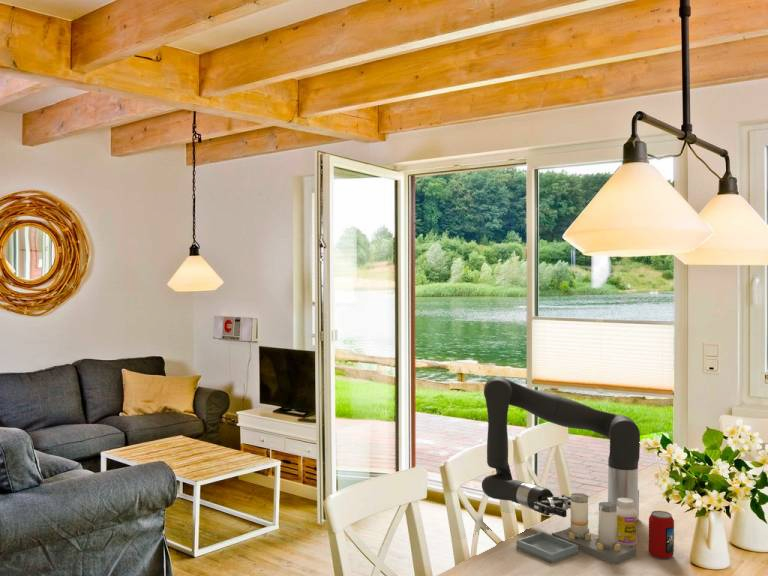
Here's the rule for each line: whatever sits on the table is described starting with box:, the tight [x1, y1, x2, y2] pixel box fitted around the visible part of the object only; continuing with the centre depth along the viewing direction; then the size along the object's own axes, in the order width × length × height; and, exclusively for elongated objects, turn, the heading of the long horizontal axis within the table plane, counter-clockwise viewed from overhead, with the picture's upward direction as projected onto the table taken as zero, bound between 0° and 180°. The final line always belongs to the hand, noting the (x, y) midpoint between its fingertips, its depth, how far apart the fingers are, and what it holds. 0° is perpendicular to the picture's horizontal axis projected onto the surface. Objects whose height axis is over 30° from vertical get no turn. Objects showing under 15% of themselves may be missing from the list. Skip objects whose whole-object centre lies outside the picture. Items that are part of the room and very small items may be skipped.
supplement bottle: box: [617, 498, 638, 547], centre depth 217 cm, size 7×7×13 cm
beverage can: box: [647, 510, 675, 560], centre depth 207 cm, size 7×7×12 cm
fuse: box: [597, 501, 617, 550], centre depth 209 cm, size 5×5×12 cm
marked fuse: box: [569, 492, 589, 539], centre depth 217 cm, size 5×5×12 cm
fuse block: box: [551, 526, 637, 565], centre depth 213 cm, size 10×22×4 cm, turn 36°
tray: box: [515, 531, 579, 564], centre depth 210 cm, size 11×13×2 cm
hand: (575, 511), depth 218 cm, fingers open, 8 cm apart
